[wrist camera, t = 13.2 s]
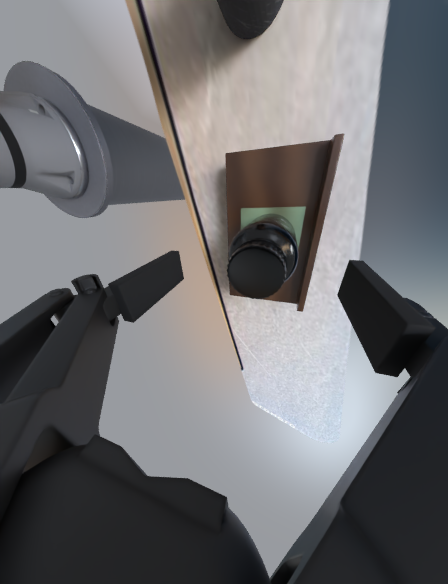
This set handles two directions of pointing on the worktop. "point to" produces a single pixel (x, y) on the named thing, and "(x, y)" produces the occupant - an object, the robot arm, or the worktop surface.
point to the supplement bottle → (262, 256)
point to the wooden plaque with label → (284, 199)
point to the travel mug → (249, 15)
